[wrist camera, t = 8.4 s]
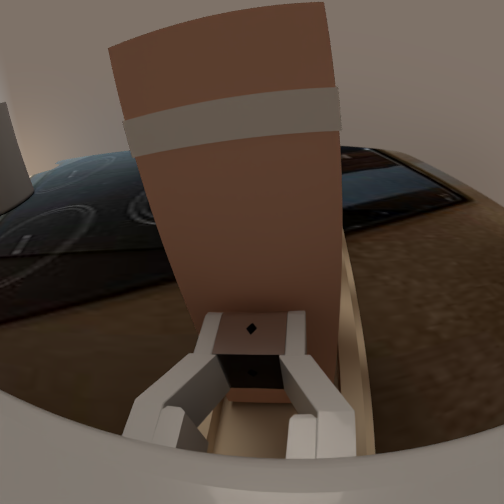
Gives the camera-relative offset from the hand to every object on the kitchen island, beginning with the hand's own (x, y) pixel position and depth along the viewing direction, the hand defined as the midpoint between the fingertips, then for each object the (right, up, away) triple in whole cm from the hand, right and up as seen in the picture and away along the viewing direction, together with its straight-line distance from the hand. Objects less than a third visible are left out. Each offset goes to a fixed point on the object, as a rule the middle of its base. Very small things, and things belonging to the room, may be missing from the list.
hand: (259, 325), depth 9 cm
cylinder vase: (-59, +14, +50) cm, 79 cm away
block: (+1, -3, +6) cm, 7 cm away
